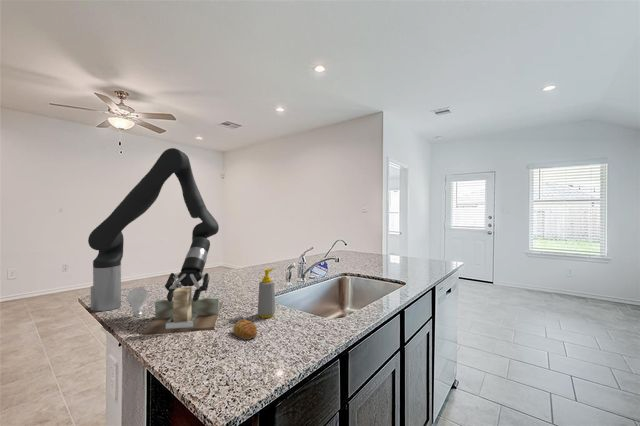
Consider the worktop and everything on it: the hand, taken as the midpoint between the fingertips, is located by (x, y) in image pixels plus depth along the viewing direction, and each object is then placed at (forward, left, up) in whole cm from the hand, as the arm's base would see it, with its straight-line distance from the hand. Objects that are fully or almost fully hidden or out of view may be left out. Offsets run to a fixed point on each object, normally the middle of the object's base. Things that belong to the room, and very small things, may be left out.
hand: (181, 300), depth 100 cm
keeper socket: (0, 0, -9) cm, 9 cm away
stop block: (0, +1, -8) cm, 8 cm away
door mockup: (0, +8, -9) cm, 12 cm away
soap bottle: (+29, +5, -9) cm, 31 cm away
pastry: (+22, -9, -10) cm, 26 cm away
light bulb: (-19, +13, -9) cm, 25 cm away
